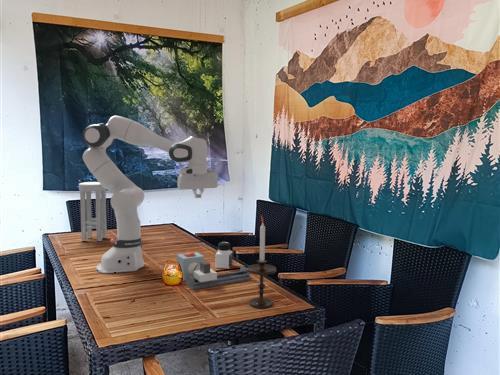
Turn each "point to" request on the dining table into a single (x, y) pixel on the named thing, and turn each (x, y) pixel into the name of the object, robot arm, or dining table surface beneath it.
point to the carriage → (205, 273)
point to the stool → (87, 206)
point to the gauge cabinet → (189, 263)
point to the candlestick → (261, 273)
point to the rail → (219, 279)
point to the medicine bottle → (224, 256)
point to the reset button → (190, 254)
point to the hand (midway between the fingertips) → (198, 197)
